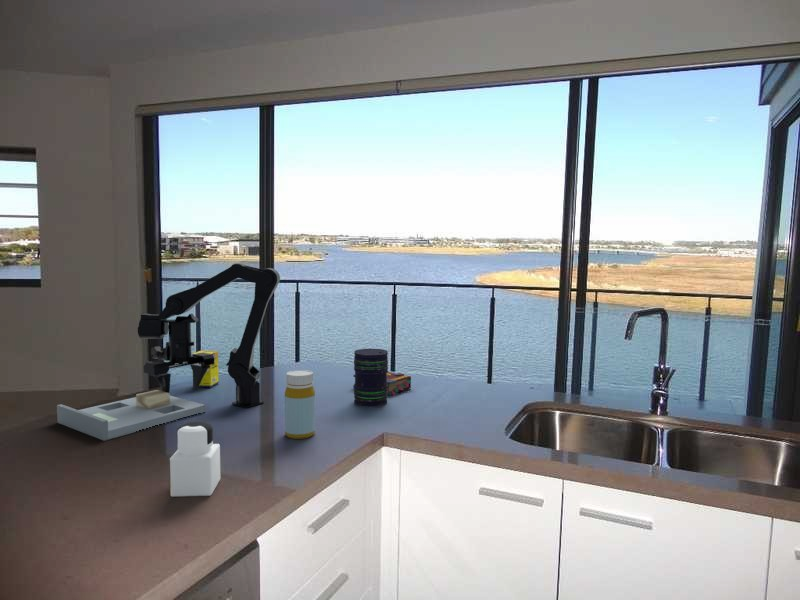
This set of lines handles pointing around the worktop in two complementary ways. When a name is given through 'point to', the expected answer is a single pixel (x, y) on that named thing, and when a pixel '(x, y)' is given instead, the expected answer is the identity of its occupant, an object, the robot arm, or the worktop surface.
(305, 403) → the bottle
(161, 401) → the beech block
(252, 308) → the robot arm
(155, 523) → the worktop surface
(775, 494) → the worktop surface
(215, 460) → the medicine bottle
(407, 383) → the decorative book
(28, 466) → the worktop surface
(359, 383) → the storage jar
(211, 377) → the supplement box
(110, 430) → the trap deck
